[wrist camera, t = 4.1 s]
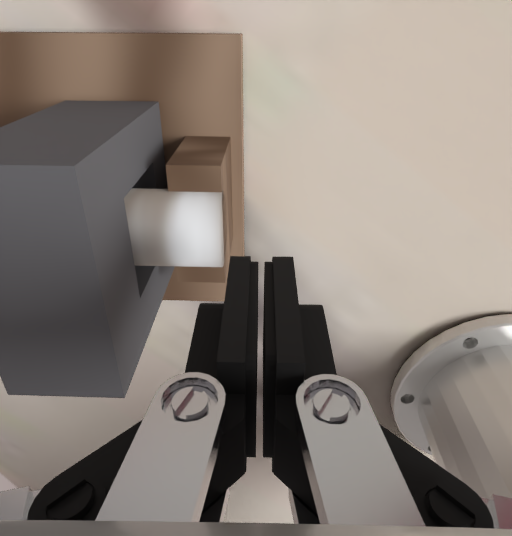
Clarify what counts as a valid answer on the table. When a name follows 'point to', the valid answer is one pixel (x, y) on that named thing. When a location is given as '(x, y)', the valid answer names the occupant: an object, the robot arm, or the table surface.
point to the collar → (76, 247)
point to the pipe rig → (173, 133)
